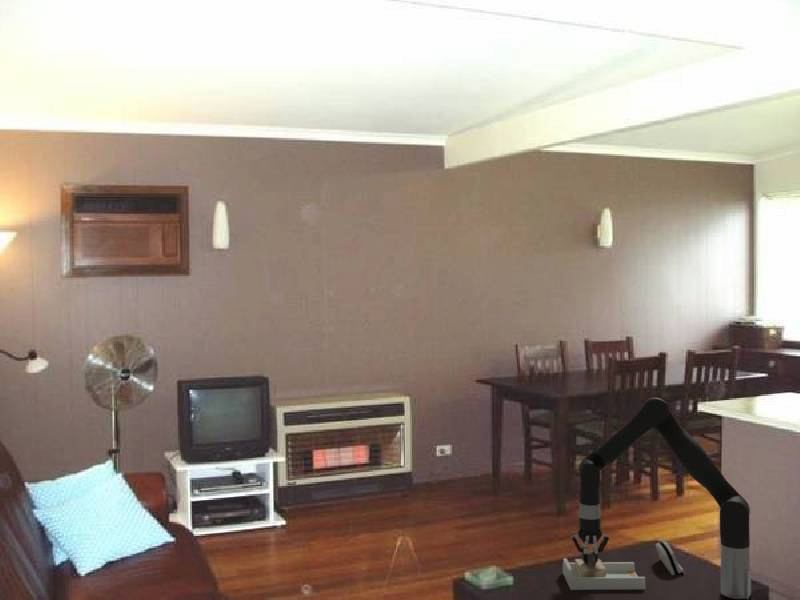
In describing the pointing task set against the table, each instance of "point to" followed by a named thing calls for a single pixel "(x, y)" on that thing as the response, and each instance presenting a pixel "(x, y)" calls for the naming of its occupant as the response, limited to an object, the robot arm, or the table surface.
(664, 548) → the hinge
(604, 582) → the bay
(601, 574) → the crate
